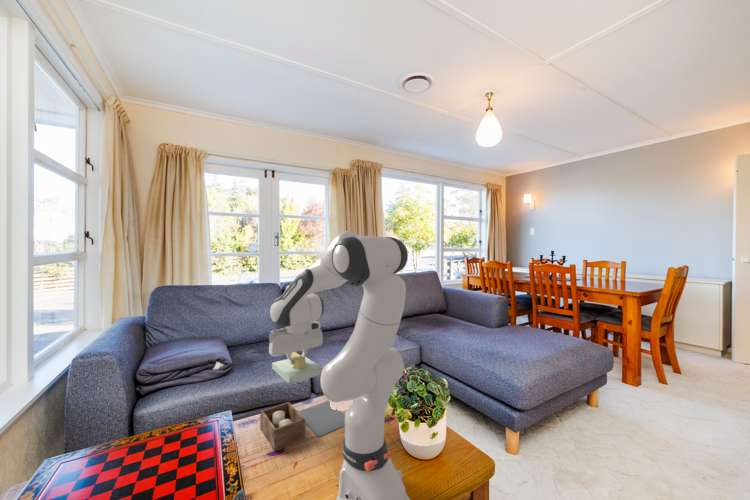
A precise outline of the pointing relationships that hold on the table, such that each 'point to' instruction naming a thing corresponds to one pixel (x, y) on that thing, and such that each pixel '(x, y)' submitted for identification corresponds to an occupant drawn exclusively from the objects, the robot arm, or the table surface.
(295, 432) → the box
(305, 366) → the lid
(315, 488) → the table surface
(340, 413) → the mat
